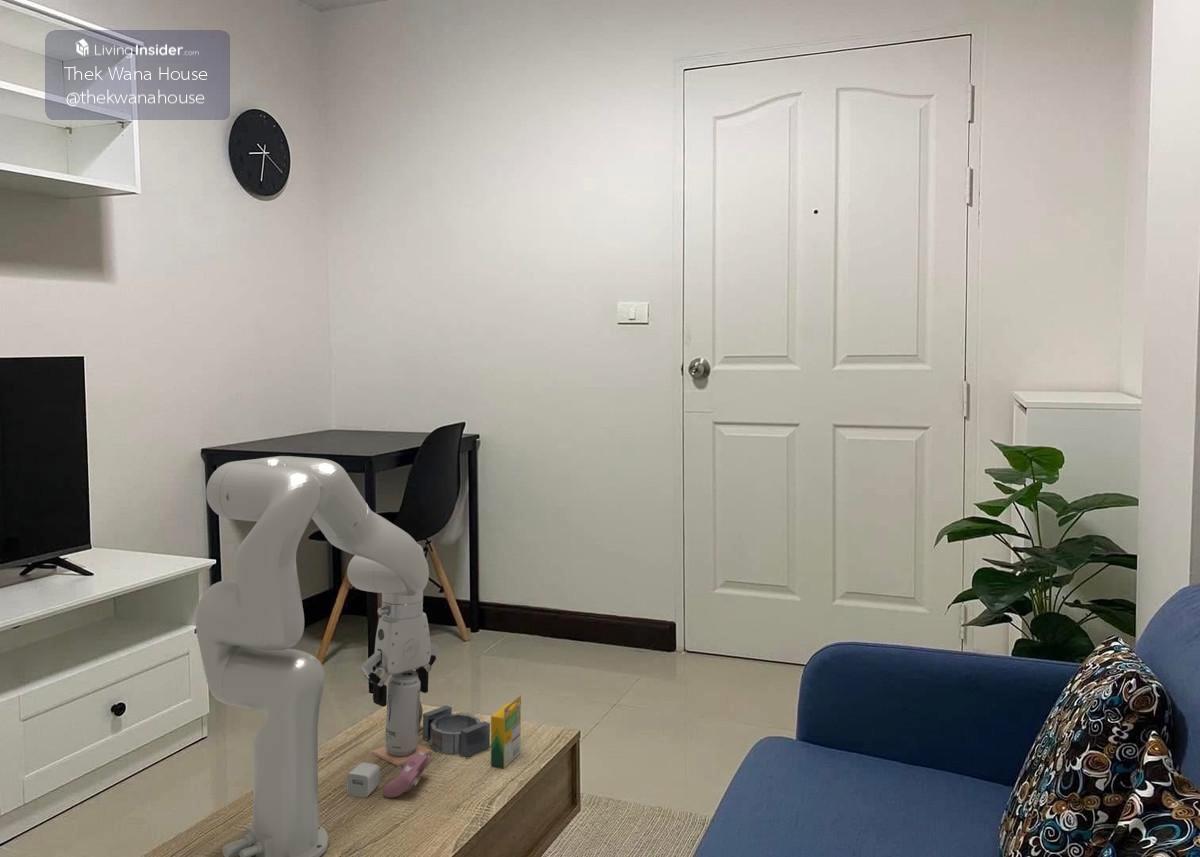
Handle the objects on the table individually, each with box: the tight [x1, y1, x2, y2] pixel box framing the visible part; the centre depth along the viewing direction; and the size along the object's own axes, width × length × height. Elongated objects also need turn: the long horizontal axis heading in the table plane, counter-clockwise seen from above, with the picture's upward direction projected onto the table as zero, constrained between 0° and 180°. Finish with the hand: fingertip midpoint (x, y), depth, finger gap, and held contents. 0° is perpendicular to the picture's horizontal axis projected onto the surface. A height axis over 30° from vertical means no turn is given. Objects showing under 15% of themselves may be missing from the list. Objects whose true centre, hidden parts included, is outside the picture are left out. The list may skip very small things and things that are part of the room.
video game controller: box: [382, 751, 432, 799], centre depth 168 cm, size 10×5×7 cm, turn 169°
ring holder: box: [422, 705, 491, 759], centre depth 186 cm, size 13×10×5 cm
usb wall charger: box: [346, 762, 382, 798], centre depth 168 cm, size 4×7×4 cm, turn 167°
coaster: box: [371, 743, 433, 768], centre depth 182 cm, size 8×8×1 cm
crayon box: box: [490, 695, 522, 770], centre depth 180 cm, size 7×3×12 cm, turn 160°
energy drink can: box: [384, 669, 421, 756], centre depth 181 cm, size 6×6×15 cm
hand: (401, 697), depth 180 cm, fingers open, 9 cm apart
